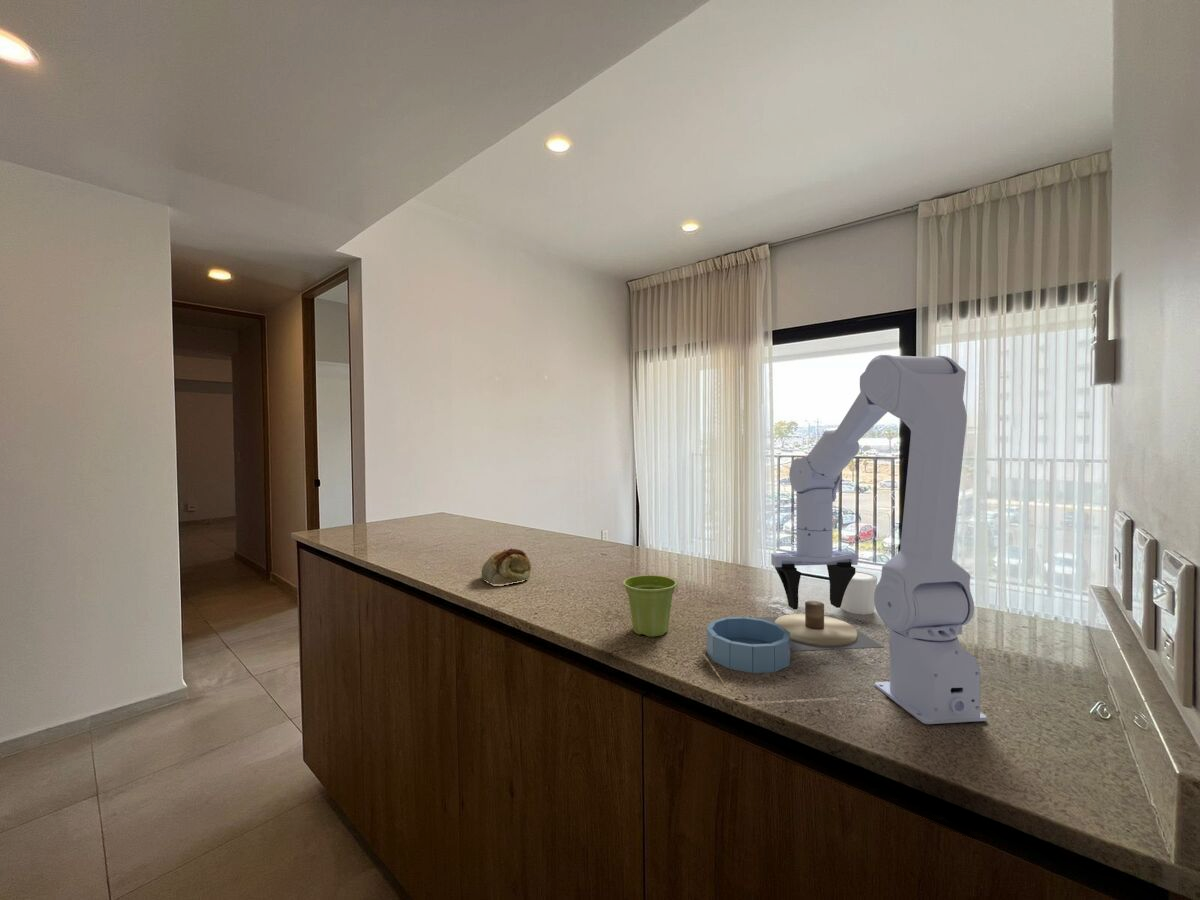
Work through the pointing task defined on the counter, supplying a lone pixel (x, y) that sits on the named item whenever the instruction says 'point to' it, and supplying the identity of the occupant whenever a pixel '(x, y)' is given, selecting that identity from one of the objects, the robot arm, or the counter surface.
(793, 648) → the mat
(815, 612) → the lid
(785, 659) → the bowl
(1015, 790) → the counter surface
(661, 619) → the plant pot
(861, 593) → the white cup
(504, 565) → the pastry
